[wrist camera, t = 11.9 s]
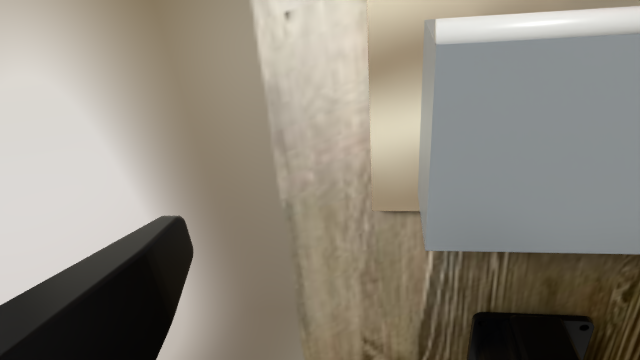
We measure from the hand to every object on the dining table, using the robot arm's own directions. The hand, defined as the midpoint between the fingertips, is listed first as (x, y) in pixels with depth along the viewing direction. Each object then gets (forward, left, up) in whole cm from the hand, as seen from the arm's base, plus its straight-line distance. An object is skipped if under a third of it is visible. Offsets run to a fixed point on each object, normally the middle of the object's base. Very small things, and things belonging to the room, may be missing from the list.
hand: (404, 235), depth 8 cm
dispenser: (-2, -7, -11) cm, 13 cm away
